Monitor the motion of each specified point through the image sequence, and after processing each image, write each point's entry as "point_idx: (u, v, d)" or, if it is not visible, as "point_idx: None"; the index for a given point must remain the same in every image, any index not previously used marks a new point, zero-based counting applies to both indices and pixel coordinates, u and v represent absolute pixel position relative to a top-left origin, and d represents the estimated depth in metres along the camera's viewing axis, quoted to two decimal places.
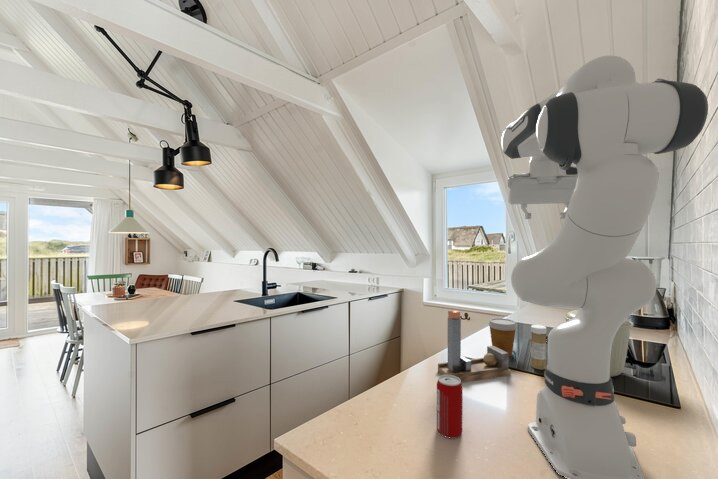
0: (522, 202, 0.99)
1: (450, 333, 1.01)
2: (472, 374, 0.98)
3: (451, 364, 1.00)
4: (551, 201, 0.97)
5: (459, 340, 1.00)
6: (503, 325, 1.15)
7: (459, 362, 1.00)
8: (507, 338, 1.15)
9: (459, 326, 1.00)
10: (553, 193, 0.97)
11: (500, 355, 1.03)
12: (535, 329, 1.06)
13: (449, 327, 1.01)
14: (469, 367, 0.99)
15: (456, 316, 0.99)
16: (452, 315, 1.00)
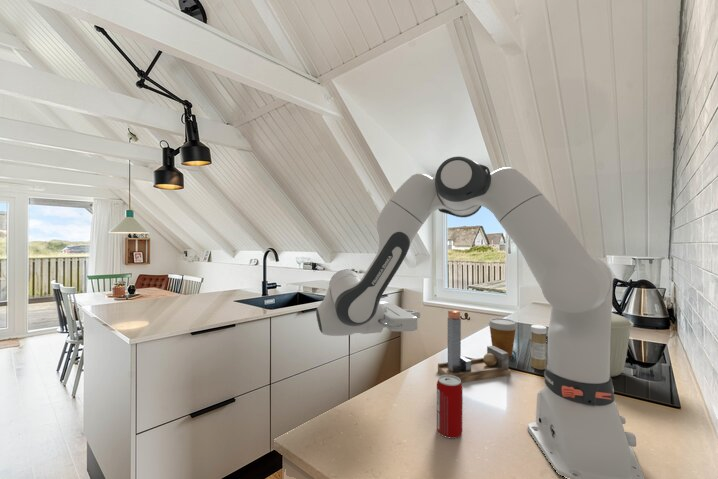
0: (412, 314, 0.90)
1: (450, 333, 1.01)
2: (472, 374, 0.98)
3: (451, 364, 1.00)
4: (400, 308, 0.98)
5: (459, 340, 1.00)
6: (503, 325, 1.15)
7: (459, 362, 1.00)
8: (507, 338, 1.15)
9: (459, 326, 1.00)
10: (392, 308, 0.97)
11: (500, 355, 1.03)
12: (535, 329, 1.06)
13: (449, 327, 1.01)
14: (469, 367, 0.99)
15: (456, 316, 0.99)
16: (452, 315, 1.00)
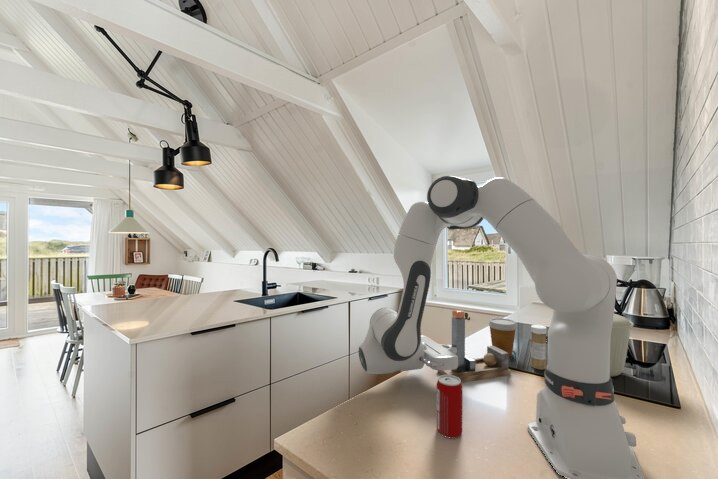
0: (451, 352, 0.94)
1: (454, 333, 1.01)
2: (472, 374, 0.98)
3: None
4: (437, 343, 1.01)
5: (464, 340, 1.01)
6: (503, 325, 1.15)
7: (463, 361, 1.01)
8: (507, 338, 1.15)
9: (463, 326, 1.01)
10: (430, 343, 1.01)
11: (500, 355, 1.03)
12: (535, 329, 1.06)
13: (453, 327, 1.02)
14: (473, 366, 1.00)
15: (460, 316, 1.00)
16: (456, 315, 1.00)
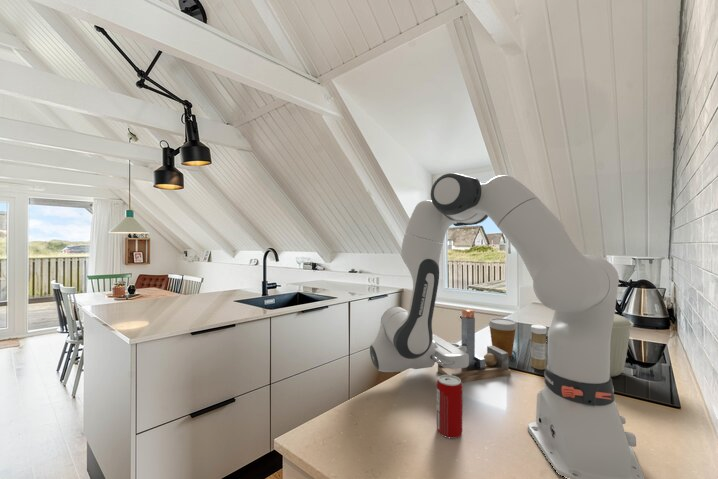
0: (462, 350, 0.95)
1: (464, 332, 1.02)
2: (472, 374, 0.98)
3: None
4: (447, 342, 1.02)
5: (473, 339, 1.02)
6: (503, 325, 1.15)
7: (473, 360, 1.02)
8: (507, 338, 1.15)
9: (473, 325, 1.02)
10: (440, 342, 1.02)
11: (500, 355, 1.03)
12: (535, 329, 1.06)
13: (463, 326, 1.03)
14: (483, 365, 1.01)
15: (470, 315, 1.01)
16: (466, 314, 1.01)
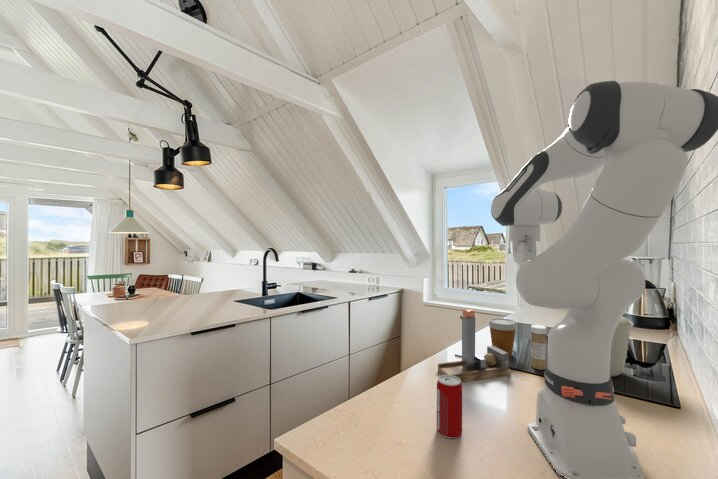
0: None
1: (465, 332, 1.02)
2: (472, 374, 0.98)
3: (466, 362, 1.02)
4: None
5: (474, 339, 1.02)
6: (503, 325, 1.15)
7: (474, 360, 1.02)
8: (507, 338, 1.15)
9: (474, 325, 1.02)
10: None
11: (500, 355, 1.03)
12: (535, 329, 1.06)
13: (464, 326, 1.03)
14: (484, 365, 1.01)
15: (470, 315, 1.01)
16: (467, 314, 1.01)
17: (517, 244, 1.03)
